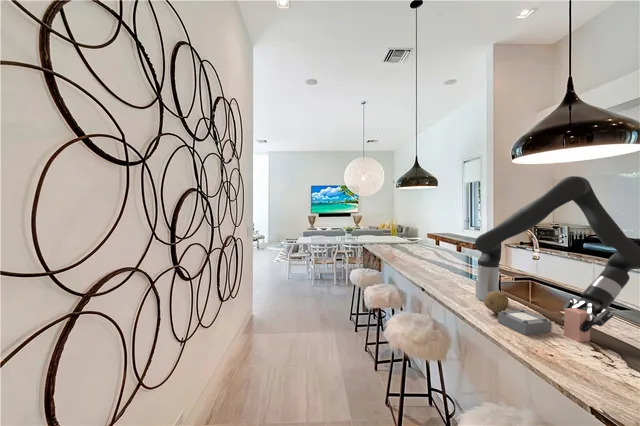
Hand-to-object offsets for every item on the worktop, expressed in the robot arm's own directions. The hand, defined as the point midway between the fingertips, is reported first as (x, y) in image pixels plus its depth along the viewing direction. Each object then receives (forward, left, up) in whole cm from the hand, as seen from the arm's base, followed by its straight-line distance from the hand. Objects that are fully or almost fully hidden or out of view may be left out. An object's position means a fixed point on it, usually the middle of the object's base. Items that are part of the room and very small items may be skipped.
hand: (572, 326), depth 102 cm
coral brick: (0, +2, -4) cm, 5 cm away
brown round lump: (-26, -7, -4) cm, 27 cm away
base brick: (-12, -8, -4) cm, 15 cm away
